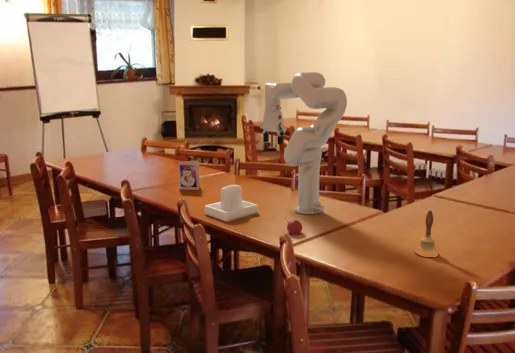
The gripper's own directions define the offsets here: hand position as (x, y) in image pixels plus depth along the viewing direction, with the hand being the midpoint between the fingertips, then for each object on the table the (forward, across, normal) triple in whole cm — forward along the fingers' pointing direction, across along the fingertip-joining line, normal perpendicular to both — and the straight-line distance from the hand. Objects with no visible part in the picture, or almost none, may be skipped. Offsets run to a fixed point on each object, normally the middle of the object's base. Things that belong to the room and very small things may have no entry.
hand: (272, 142), depth 253 cm
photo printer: (+27, -6, +34) cm, 43 cm away
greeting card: (+28, +46, +17) cm, 57 cm away
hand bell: (+27, -93, +19) cm, 99 cm away
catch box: (+28, -6, +34) cm, 44 cm away
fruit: (+28, -43, +34) cm, 61 cm away
